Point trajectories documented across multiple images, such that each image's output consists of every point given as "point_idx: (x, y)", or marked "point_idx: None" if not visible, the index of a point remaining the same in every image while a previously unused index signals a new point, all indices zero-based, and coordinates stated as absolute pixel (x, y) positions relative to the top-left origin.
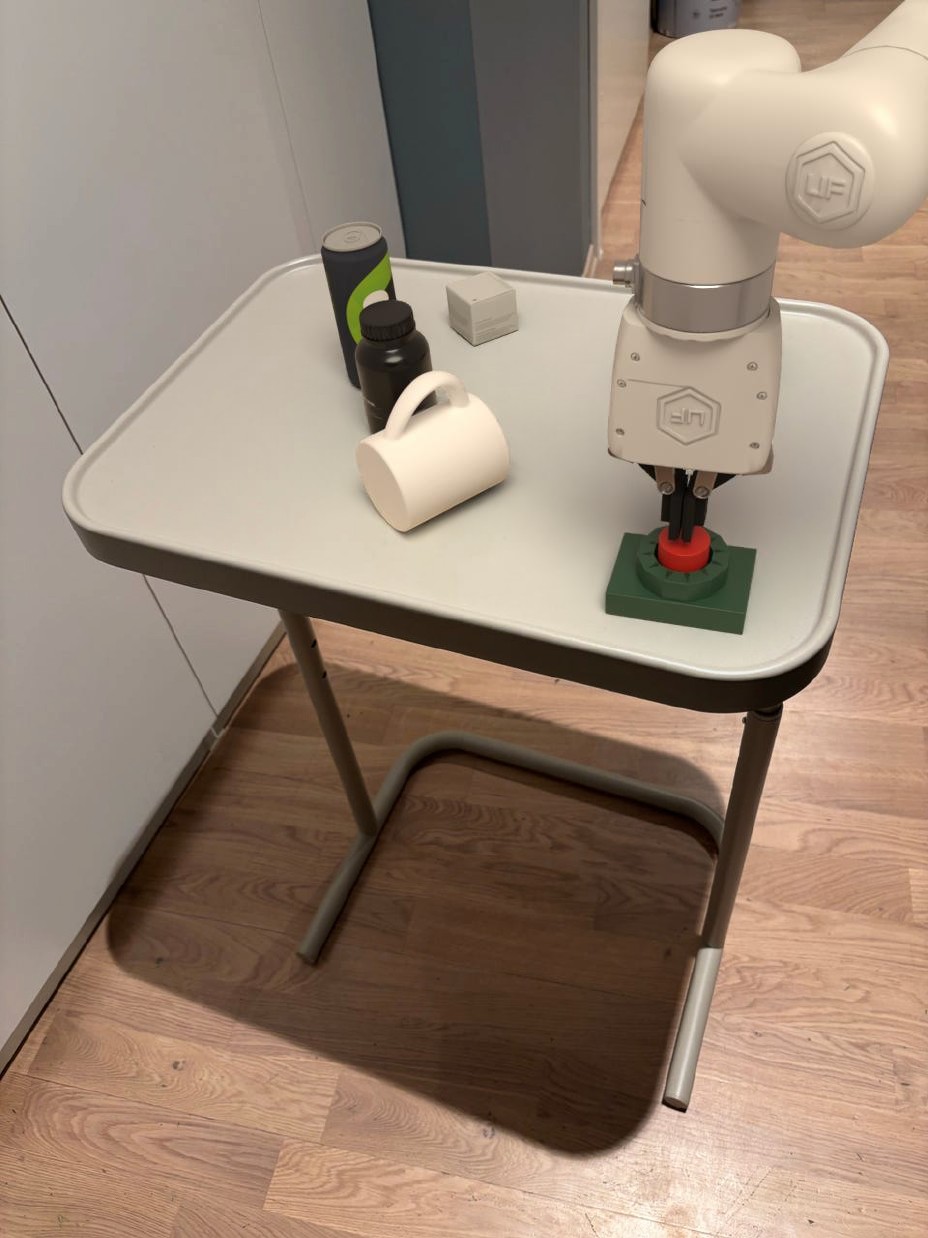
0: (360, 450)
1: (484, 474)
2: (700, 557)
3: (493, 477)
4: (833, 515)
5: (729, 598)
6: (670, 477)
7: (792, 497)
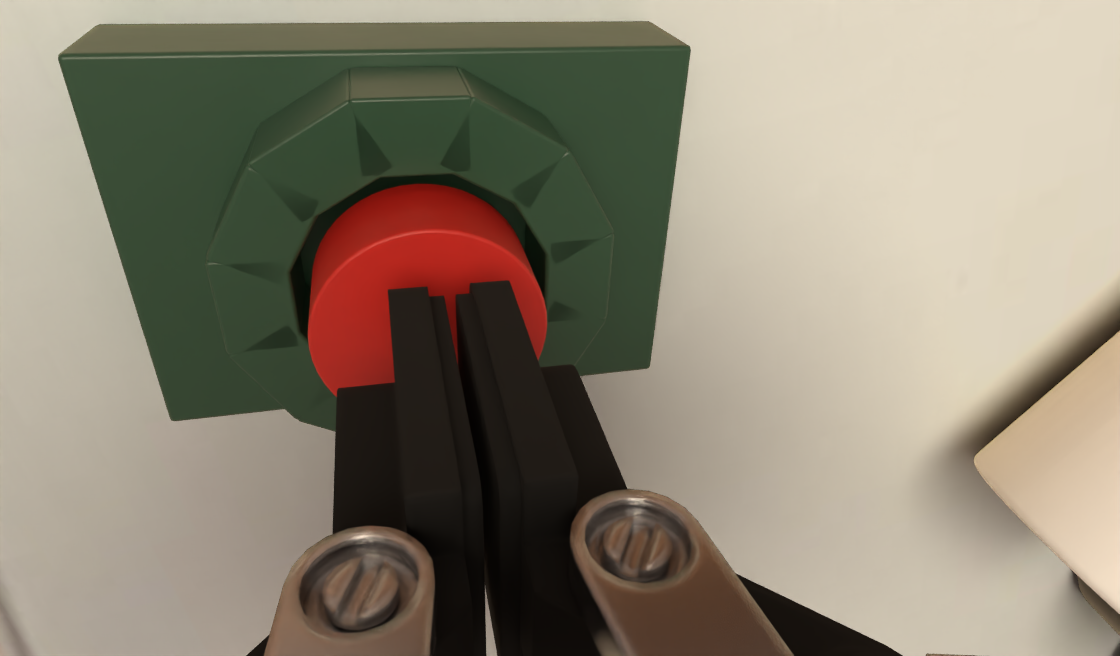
0: None
1: (1099, 446)
2: (331, 258)
3: (1048, 450)
4: (35, 620)
5: (169, 135)
6: (643, 630)
7: (186, 637)
